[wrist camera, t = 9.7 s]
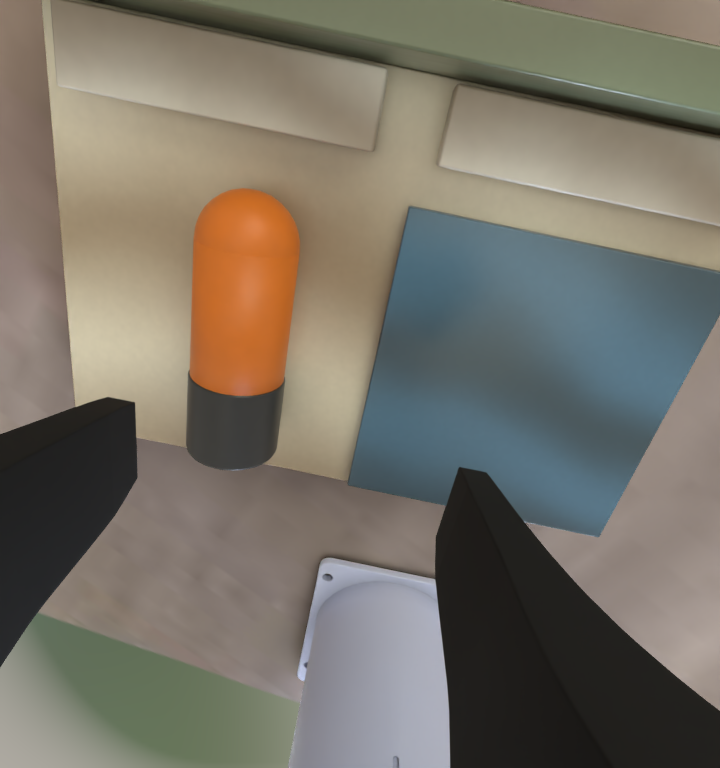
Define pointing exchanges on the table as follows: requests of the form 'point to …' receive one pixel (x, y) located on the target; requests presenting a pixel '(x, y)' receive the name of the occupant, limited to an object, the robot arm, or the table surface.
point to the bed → (402, 227)
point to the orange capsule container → (240, 328)
